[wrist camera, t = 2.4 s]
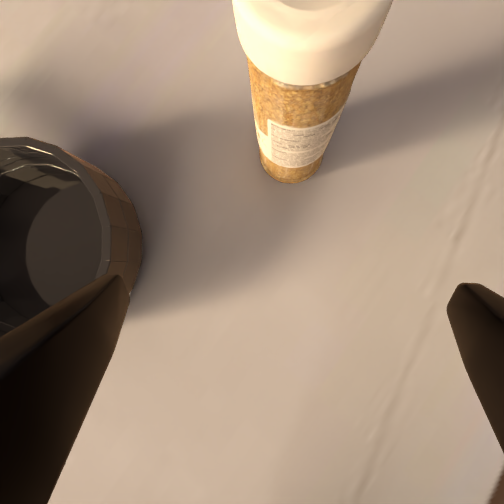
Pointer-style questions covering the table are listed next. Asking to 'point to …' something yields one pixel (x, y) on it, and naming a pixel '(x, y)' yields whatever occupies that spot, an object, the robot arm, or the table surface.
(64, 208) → the pan
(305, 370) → the table surface
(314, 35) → the sprinkles bottle
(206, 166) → the table surface
